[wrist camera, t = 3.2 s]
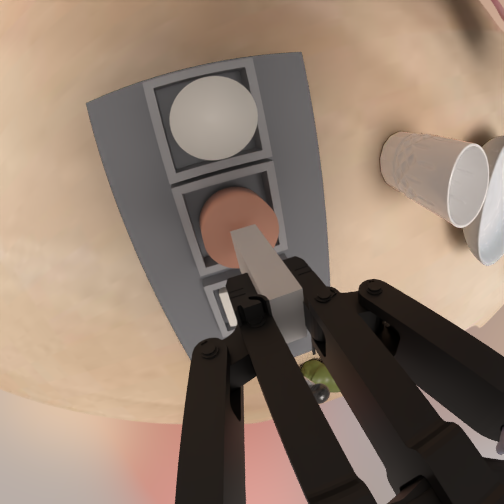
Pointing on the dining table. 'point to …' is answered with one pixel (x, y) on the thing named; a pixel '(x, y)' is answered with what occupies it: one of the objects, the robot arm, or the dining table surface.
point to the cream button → (213, 118)
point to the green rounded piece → (319, 374)
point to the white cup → (438, 174)
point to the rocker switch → (227, 306)
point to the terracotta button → (234, 221)
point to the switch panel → (212, 184)
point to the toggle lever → (319, 391)
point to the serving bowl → (490, 210)
